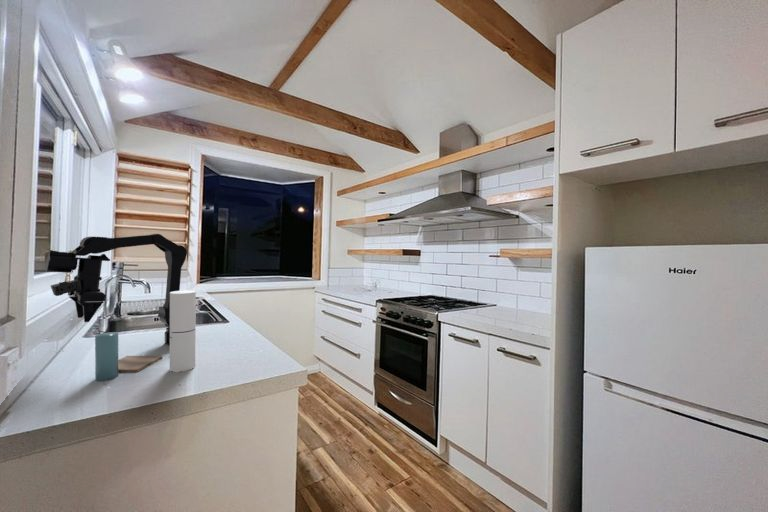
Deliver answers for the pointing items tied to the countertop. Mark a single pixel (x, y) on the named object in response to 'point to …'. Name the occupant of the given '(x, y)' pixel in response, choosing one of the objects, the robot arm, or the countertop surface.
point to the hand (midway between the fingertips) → (83, 319)
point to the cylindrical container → (182, 330)
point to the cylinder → (106, 356)
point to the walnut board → (136, 363)
